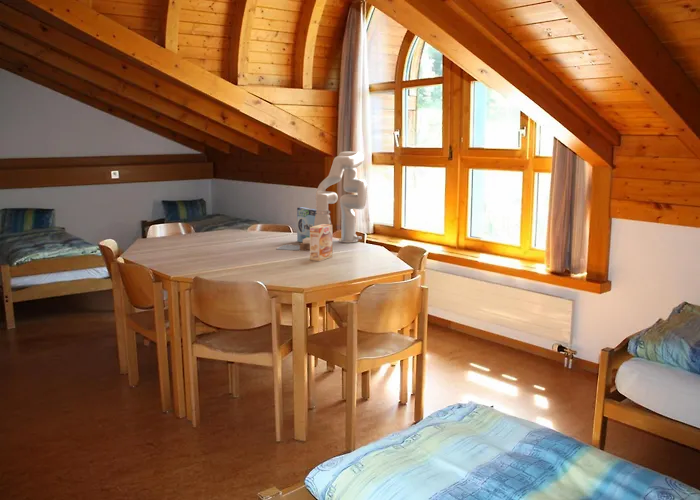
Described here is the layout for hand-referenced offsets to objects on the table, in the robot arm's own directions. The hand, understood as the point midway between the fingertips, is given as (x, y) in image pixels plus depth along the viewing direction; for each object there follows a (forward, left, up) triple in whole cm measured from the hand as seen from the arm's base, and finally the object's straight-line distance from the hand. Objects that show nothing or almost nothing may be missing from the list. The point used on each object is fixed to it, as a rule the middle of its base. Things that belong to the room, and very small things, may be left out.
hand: (322, 241), depth 427 cm
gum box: (+16, -20, -5) cm, 26 cm away
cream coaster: (+8, 0, 0) cm, 8 cm away
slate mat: (+21, 0, -5) cm, 21 cm away
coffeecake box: (-8, +29, -5) cm, 31 cm away
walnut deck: (+8, 0, -5) cm, 10 cm away
